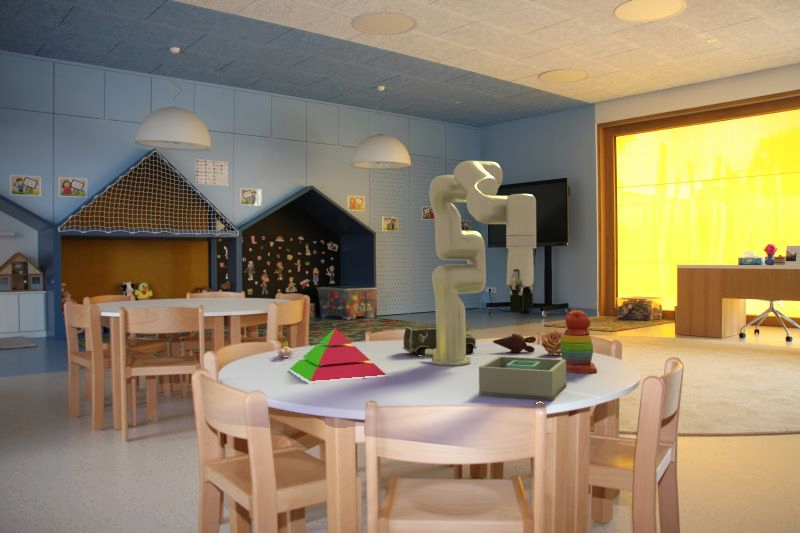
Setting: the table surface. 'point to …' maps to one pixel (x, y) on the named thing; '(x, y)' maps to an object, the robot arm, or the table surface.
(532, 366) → the box
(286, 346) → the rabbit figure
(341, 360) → the pyramid toy
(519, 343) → the icecream
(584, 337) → the stacking bear
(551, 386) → the big crate
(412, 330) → the toy van
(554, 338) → the flower
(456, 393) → the table surface
